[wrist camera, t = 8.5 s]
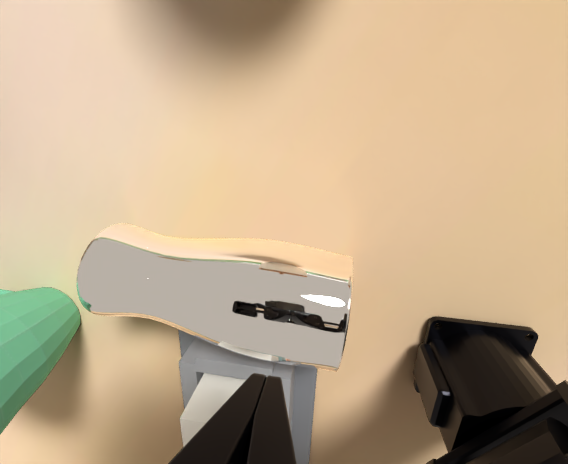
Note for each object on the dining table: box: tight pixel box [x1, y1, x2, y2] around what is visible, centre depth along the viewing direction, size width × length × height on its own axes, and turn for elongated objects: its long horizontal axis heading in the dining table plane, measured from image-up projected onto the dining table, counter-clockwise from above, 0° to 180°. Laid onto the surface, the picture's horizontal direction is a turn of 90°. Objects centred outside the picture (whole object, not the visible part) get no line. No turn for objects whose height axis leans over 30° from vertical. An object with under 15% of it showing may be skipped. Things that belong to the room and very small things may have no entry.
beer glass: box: [77, 223, 353, 372], centre depth 18 cm, size 7×7×15 cm
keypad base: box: [178, 329, 317, 464], centre depth 25 cm, size 11×24×4 cm, turn 178°
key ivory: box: [180, 373, 246, 447], centre depth 20 cm, size 4×4×5 cm
